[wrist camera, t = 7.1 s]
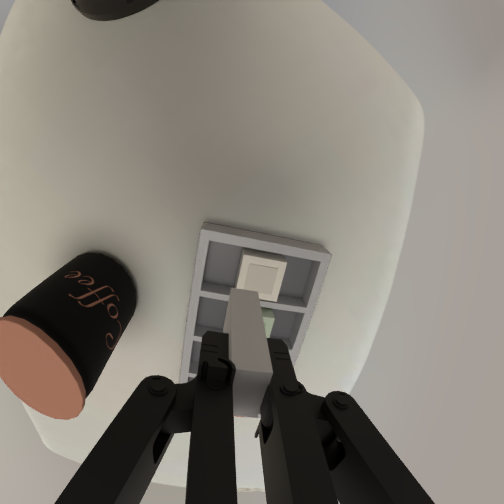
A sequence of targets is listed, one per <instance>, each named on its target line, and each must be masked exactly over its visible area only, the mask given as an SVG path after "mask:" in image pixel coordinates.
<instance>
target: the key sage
mask: <svg viewBox="0 0 504 504" xmlns="http://www.w3.org/2000/svg"><path fill="white" fill-rule="evenodd" d="M261 311H262V316H263V321H264V327H265V332H266V338H269V337H270V333H271V330H272V327H273V323H274V320H275V317H274V313H273V309H272V308H266V307H261Z"/></svg>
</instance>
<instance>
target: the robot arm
mask: <svg viewBox="0 0 504 504" xmlns="http://www.w3.org/2000/svg"><path fill="white" fill-rule="evenodd" d="M71 1H72V4H73V5H74V7H75V8H76V9H77V10H78V11H79V12H80V13H82V14H83V15H84V16H85V17H87V18H90V19H93V20H113V19H118V18H122V17H125V16H128V15H131V14H134V13H136V12H138V11H140V10H142V9H144V8H146V7H148V6H150V5H151V4H153V3H154V2H156V1H157V0H71ZM259 412H260V414H261V420H260V422H259V425H258V428H257V430H256V433H255V438H257V437H258V434H259V438H260V447H261V456H262V465H263V474H264V483H265V492H266V501H267V504H338V501H339V502H340V504H435V503H434V502H433V501H432V500H431V498H430V497H429V496H428V494H427V493H426V492H425V490H424V489H423V488H422V487H421V485H420V484H419V483H418V481H417V480H416V479H415V478H414V476H413V475H412V474H411V472H410V471H409V470H408V469H407V467H406V466H405V465H404V463H403V462H402V461H401V460H400V458H399V457H398V456H397V454H396V453H395V452H394V451H393V449H392V448H391V447H390V446H389V444H388V443H387V442H386V440H385V439H384V438H383V436H382V435H381V434H380V433H379V431H378V430H377V429H376V427H375V426H374V424H373V423H372V422H371V421H370V419H369V418H368V417H367V415H366V414H365V413H364V411H363V410H362V409H361V408H360V406H359V405H358V404H357V402H356V401H355V400H354V399H353V398H352V397H351V396H350V395H349V394H347V393H345V392H341V391H333V392H330V393H328V395H327V396H326V397H321V396H317V395H313V394H310V393H308V392H307V391H306V389H305V387H304V386H303V385H302V384H301V383H300V382H298V381H297V379H296V375H295V371H294V368H293V364H292V361H291V357H290V355H289V350H288V346H287V345H286V344H285V343H284V341H283V340H282V339H275V338H266V332H265V327H264V321H263V316H262V311H261V305H260V300H259V295H258V292H257V291H251V290H244V289H237V288H231V290H230V295H229V301H228V306H227V311H226V317H225V322H224V327H223V333H221V332H214V331H207V332H206V333H205V334H204V335H203V336H202V342H201V349H200V356H199V364H198V372H197V375H196V377H195V378H194V379H193V380H191V381H189V382H187V383H181V384H174V383H173V382H172V380H170V379H168V378H166V377H164V376H159V375H154V376H149V377H146V378H145V379H143V380H142V381H141V382H140V384H139V385H138V387H137V388H136V389H135V391H134V392H133V393H132V395H131V396H130V398H129V399H128V400H127V402H126V403H125V405H124V406H123V407H122V409H121V410H120V411H119V413H118V414H117V416H116V417H115V418H114V420H113V421H112V423H111V424H110V425H109V427H108V428H107V430H106V431H105V432H104V434H103V435H102V437H101V438H100V439H99V441H98V442H97V444H96V445H95V446H94V448H93V449H92V451H91V452H90V453H89V455H88V456H87V458H86V459H85V461H84V462H83V463H82V465H81V466H80V468H79V469H78V471H77V472H76V473H75V475H74V477H73V478H72V479H71V480H70V482H69V483H68V485H67V486H66V488H65V489H64V491H63V492H62V493H61V495H60V496H59V498H58V499H57V501H56V502H55V504H139V503H140V501H141V499H142V497H143V496H144V494H145V492H146V490H147V488H148V486H149V484H150V482H151V480H152V478H153V476H154V474H155V472H156V470H157V468H158V466H159V464H160V462H161V460H162V458H163V456H164V454H165V452H166V450H167V448H168V446H169V444H170V442H171V440H172V438H173V436H174V433H183V432H191V436H190V447H189V459H188V472H187V485H186V500H185V504H237V486H236V466H235V442H234V416H241V417H255V418H257V417H258V414H259ZM337 499H338V500H337Z"/></svg>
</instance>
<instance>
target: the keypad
mask: <svg viewBox="0 0 504 504" xmlns="http://www.w3.org/2000/svg"><path fill="white" fill-rule="evenodd" d="M243 248H246V249H252V250H257V251H262V252H267V253H273V254H278V255H283V256H284V258H285V260H286V261H287V265H286V269H285V273H284V276H283V280H282V284H281V287H280V291H279V295H278V298H277V302H275V301H268V300H262V299H259V300H260V305H261V307H266V308H272V309H273V313H274V317H275V320H274V323H273V327H272V330H271V333H270V337H269V338H275V339H282V340H283V341H284V343H285V344H286V345H287V346H288V350H289V355H290V357H291V361H292V364H293V367H294V365H295V362H296V359H297V357H298V354H299V351H300V349H301V346H302V343H303V341H304V338H305V335H306V332H307V329H308V327H309V324H310V321H311V318H312V315H313V312H314V309H315V306H316V303H317V300H318V297H319V294H320V291H321V288H322V285H323V281H324V278H325V275H326V272H327V269H328V265H329V262H330V259H331V255H332V254H331V253H330V252H329V251H327V250H326V249H325V248H324V247H323V246H321V245H316V244H312V243H307V242H302V241H297V240H292V239H287V238H282V237H277V236H273V235H268V234H263V233H257V232H252V231H247V230H242V229H237V228H232V227H227V226H222V225H216V224H211V223H206V222H204V224H203V226H202V228H201V233H200V238H199V244H198V250H197V256H196V262H195V268H194V275H193V281H192V288H191V295H190V302H189V309H188V316H187V324H186V331H185V339H184V348H183V356H182V365H181V374H180V384H181V383H187V382H189V381H191V380H193V379H194V378H195V377H196V375H197V372H198V364H199V356H200V349H201V342H202V336H203V335H204V334H205V333H206V332H207V331H214V332H221V333H223V327H224V322H225V317H226V311H227V306H228V301H229V295H230V290H231V288H235V282H236V277H237V273H238V268H239V263H240V259H241V254H242V249H243ZM257 418H261V414H260V412H259V414H258V417H257Z"/></svg>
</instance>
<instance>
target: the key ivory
mask: <svg viewBox="0 0 504 504" xmlns="http://www.w3.org/2000/svg"><path fill="white" fill-rule="evenodd" d="M286 265H287V261H286V260H285V258H284V256H283V255H278V254H273V253H267V252H262V251H257V250H252V249H246V248H243V249H242V254H241V259H240V263H239V268H238V273H237V277H236V282H235V288H237V289H244V290H251V291H257V292H258V295H259V299H262V300H268V301H275V302H277V298H278V295H279V291H280V287H281V284H282V280H283V276H284V273H285V269H286Z"/></svg>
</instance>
